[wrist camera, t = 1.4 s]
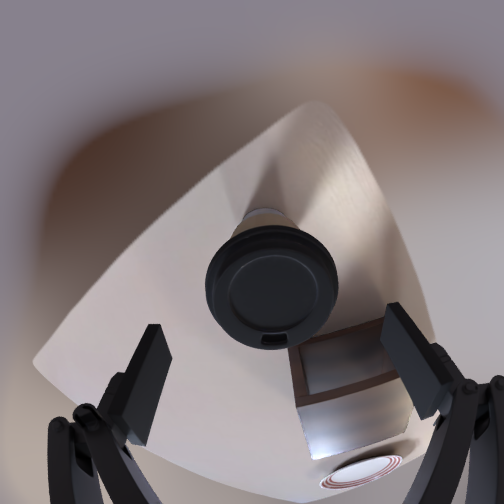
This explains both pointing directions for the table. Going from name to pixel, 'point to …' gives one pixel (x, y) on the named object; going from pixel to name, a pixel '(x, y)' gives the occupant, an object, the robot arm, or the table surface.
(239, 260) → the coffee cup
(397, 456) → the dinner plate
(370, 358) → the wooden cubby box
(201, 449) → the table surface
